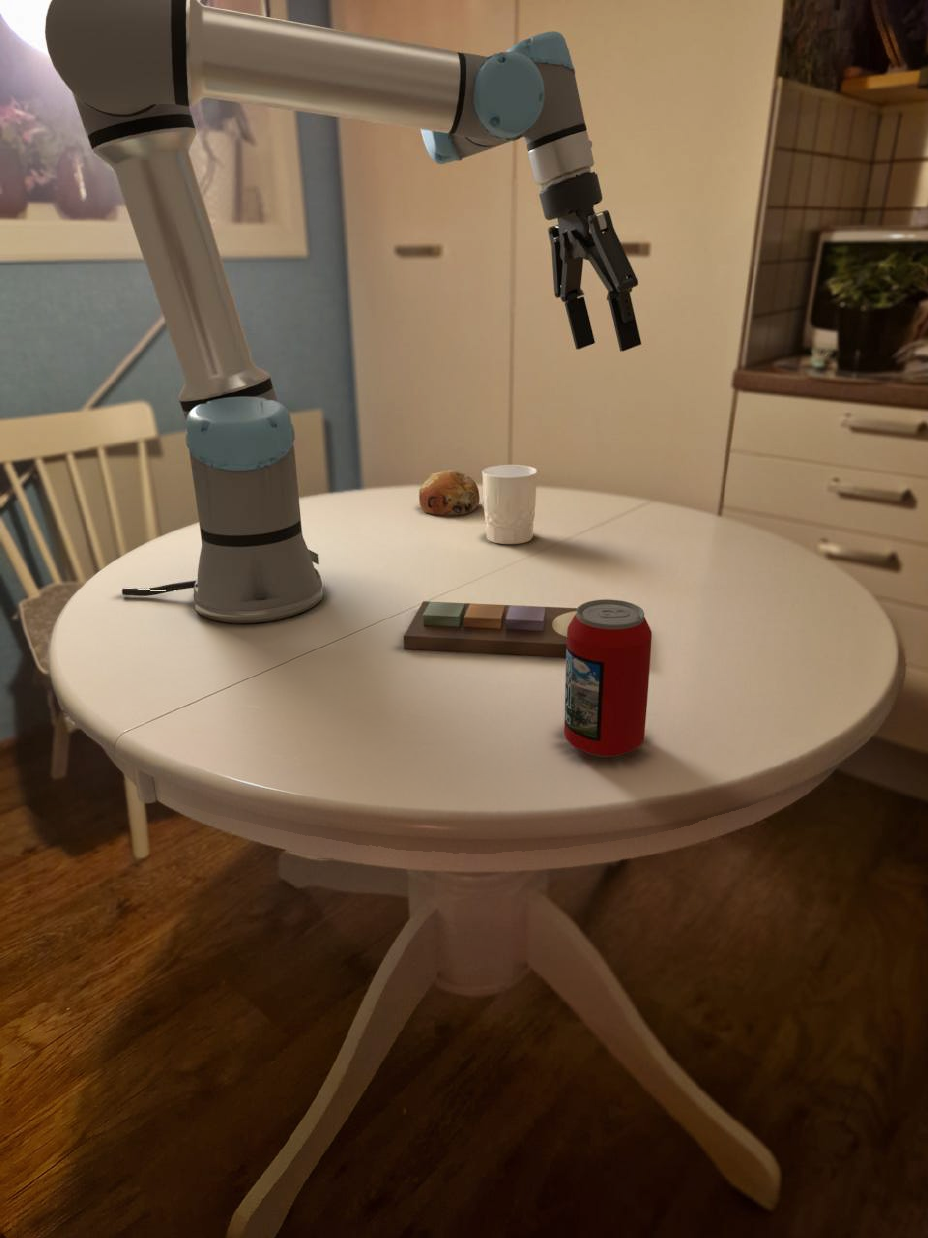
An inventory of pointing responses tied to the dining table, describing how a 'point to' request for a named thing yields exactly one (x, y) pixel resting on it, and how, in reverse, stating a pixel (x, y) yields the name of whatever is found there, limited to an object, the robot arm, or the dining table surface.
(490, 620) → the paint palette tray
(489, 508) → the white cup
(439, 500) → the bread roll
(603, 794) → the dining table surface
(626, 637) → the beverage can
